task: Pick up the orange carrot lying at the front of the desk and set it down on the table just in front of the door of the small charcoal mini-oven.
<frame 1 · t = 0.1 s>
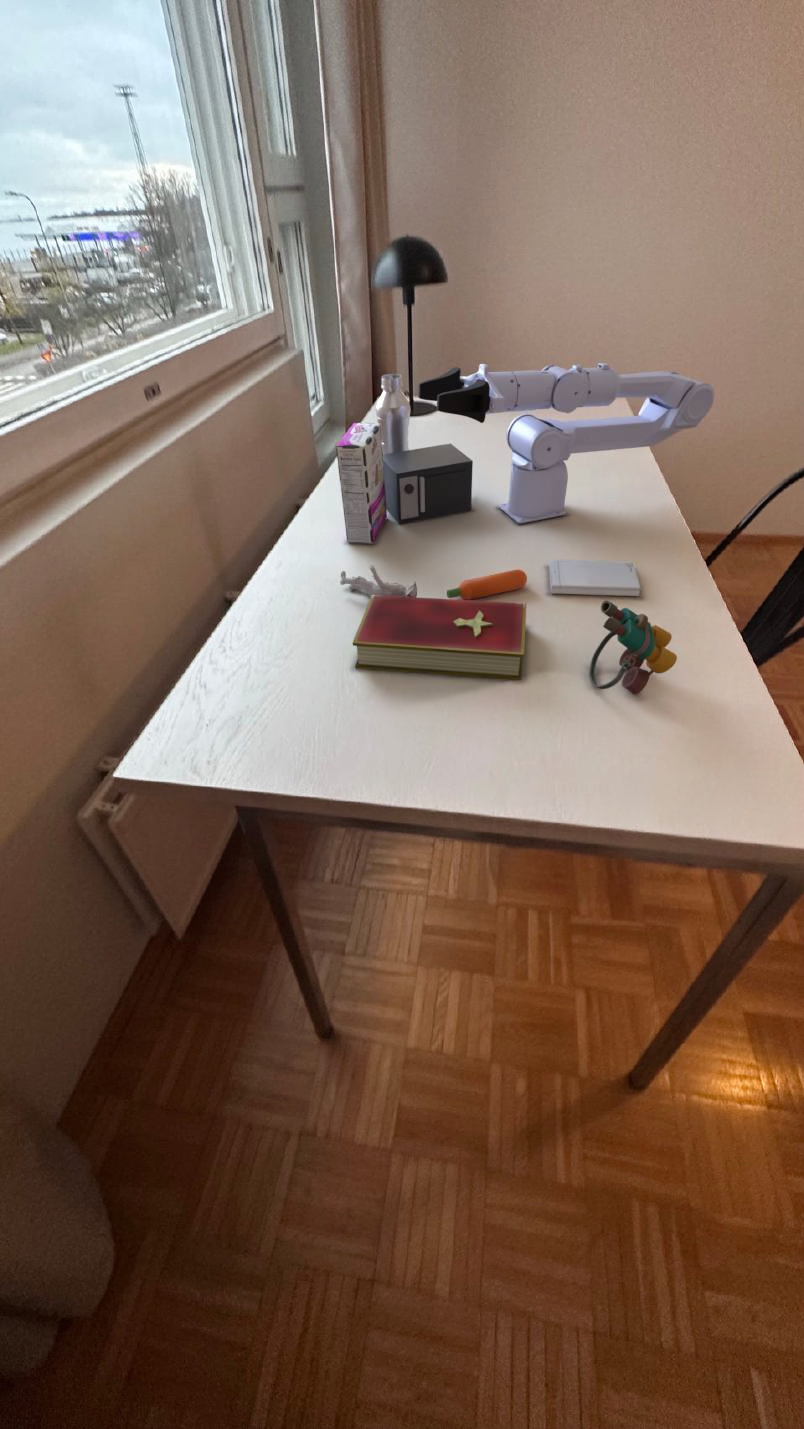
hand: (428, 396, 95), 22 cm above the table, tool horizontal, fingers open, 7 cm apart
hard drive: (591, 583, 95), on the table
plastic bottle: (396, 488, 125), on the table
mini oven: (425, 507, 118), on the table
candy bar box: (367, 531, 111), on the table
soldier figure: (379, 599, 94), on the table
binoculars: (625, 681, 77), on the table
hardcover book: (442, 648, 84), on the table
carrot: (492, 592, 94), on the table
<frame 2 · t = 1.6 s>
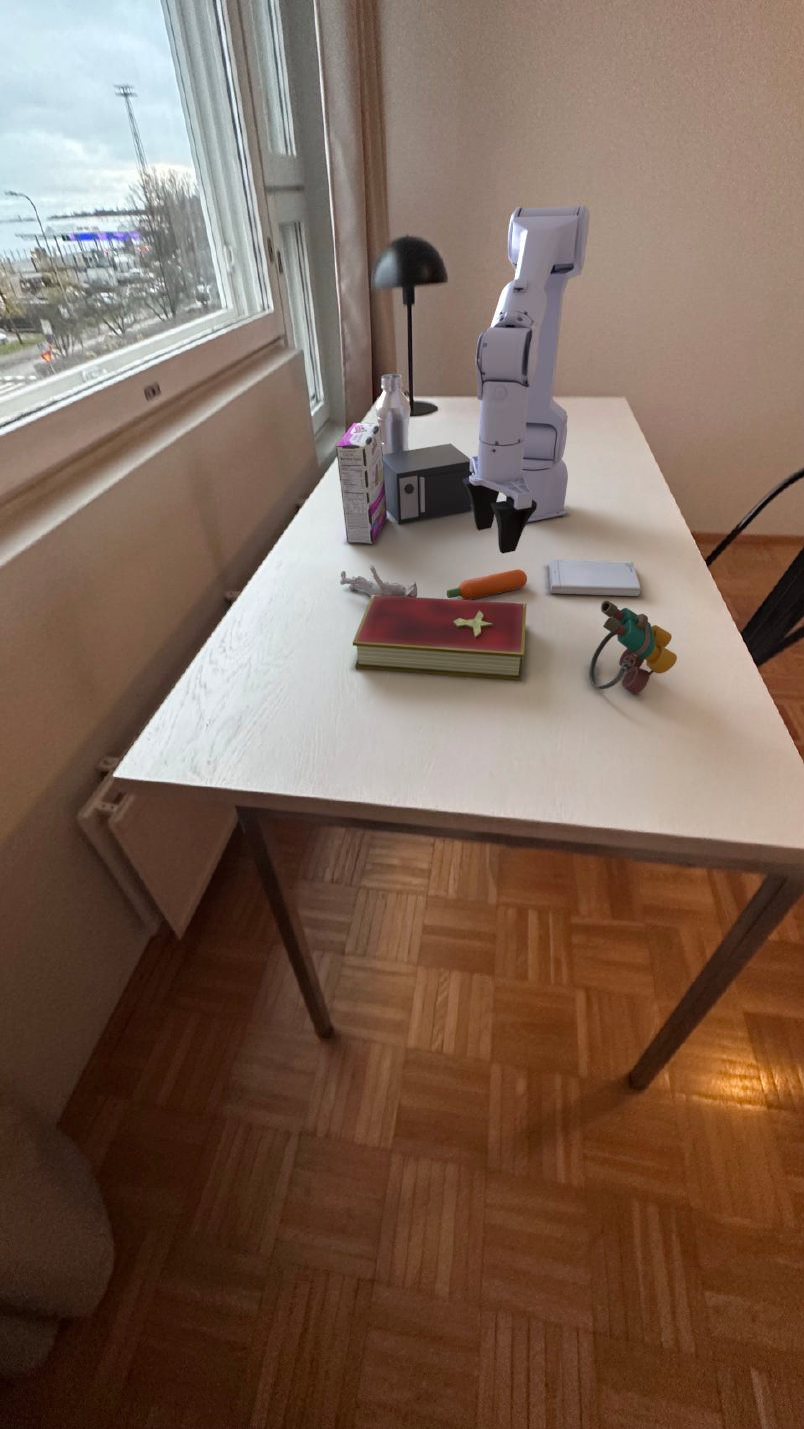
hand: (495, 539, 88), 8 cm above the table, tool pointing down, fingers open, 7 cm apart
nothing on the table moved.
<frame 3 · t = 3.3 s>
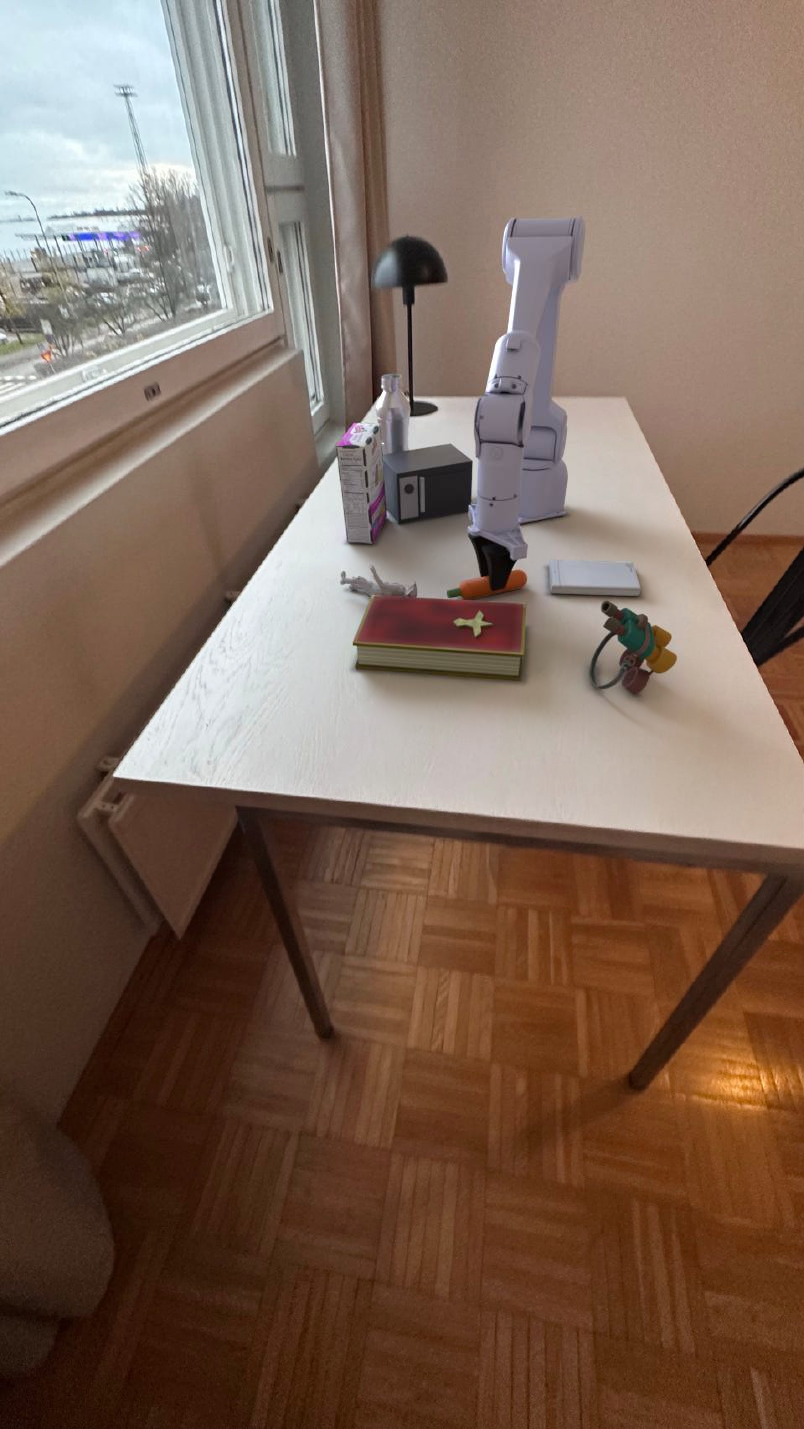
hand: (492, 583, 92), 2 cm above the table, tool pointing down, fingers closed on carrot, 3 cm apart
carrot: (492, 592, 93), on the table, touching gripper
everything else where it was.
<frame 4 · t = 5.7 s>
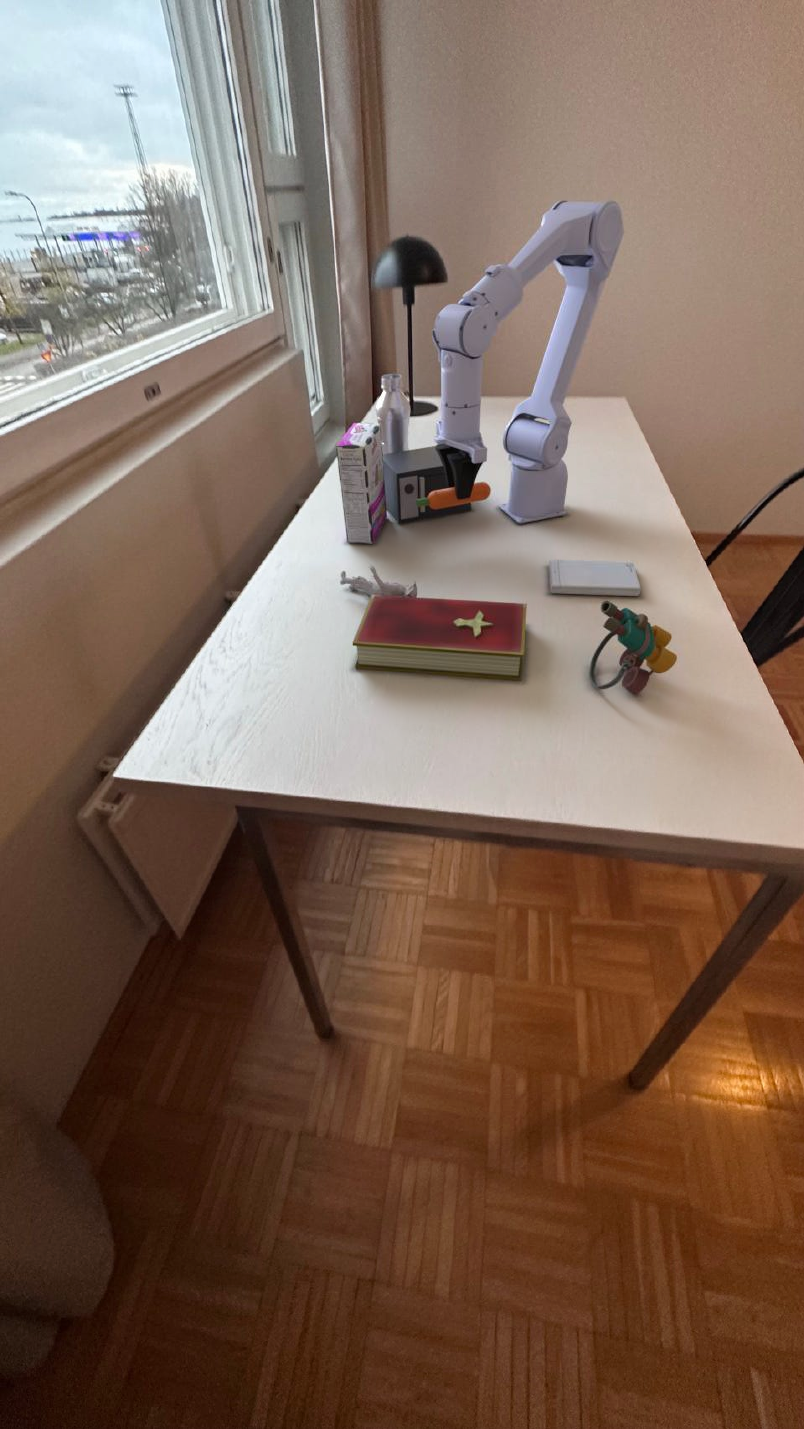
hand: (459, 494, 101), 8 cm above the table, tool pointing down, fingers closed on carrot, 3 cm apart
carrot: (458, 504, 102), point 7 cm above the table, touching gripper
everything else where it was.
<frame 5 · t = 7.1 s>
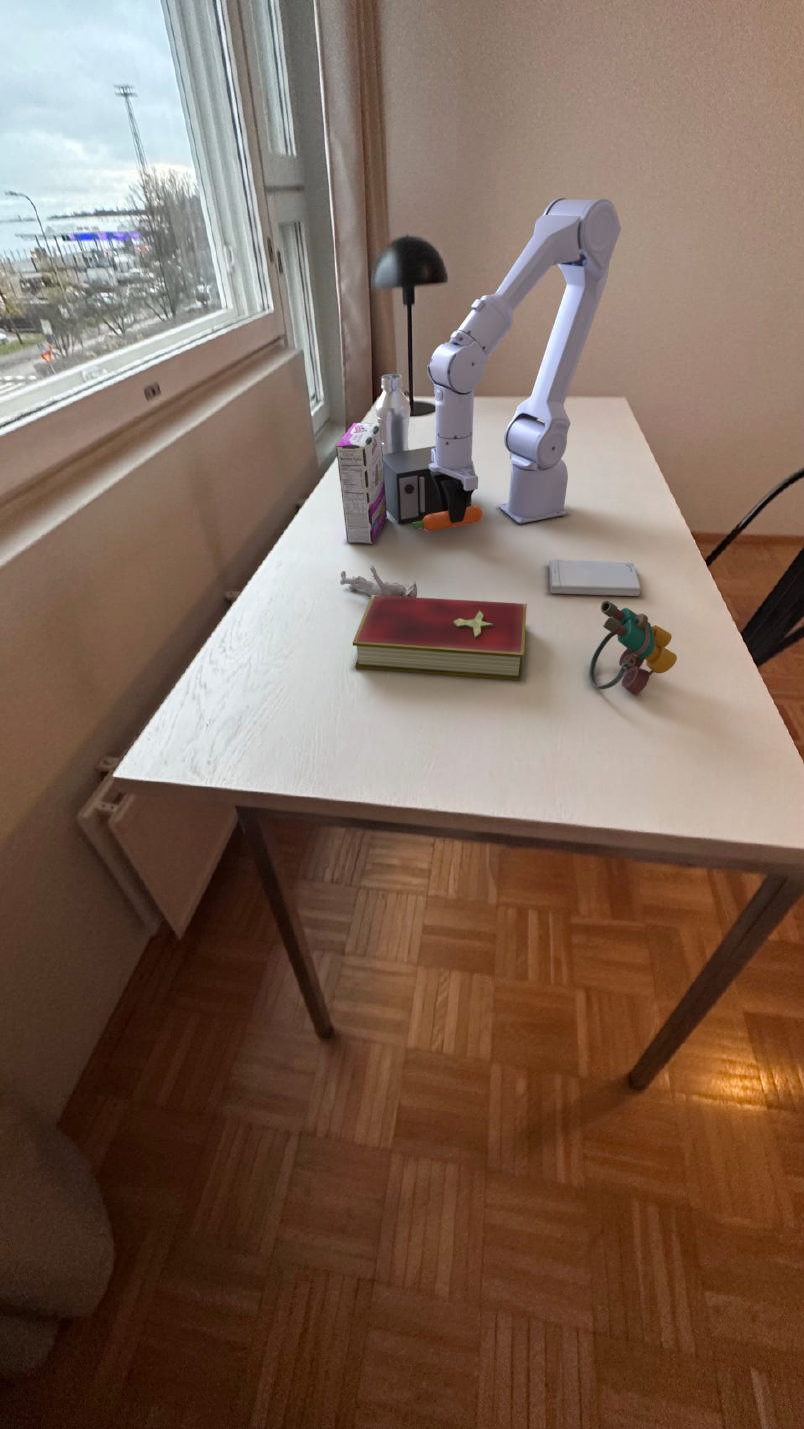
hand: (452, 517, 106), 3 cm above the table, tool pointing down, fingers closed on carrot, 3 cm apart
carrot: (452, 526, 107), point 2 cm above the table, touching gripper
everything else where it was.
when the fingers open (2 cm above the table, at t = 8.0 s): carrot stays where it is, on the table.
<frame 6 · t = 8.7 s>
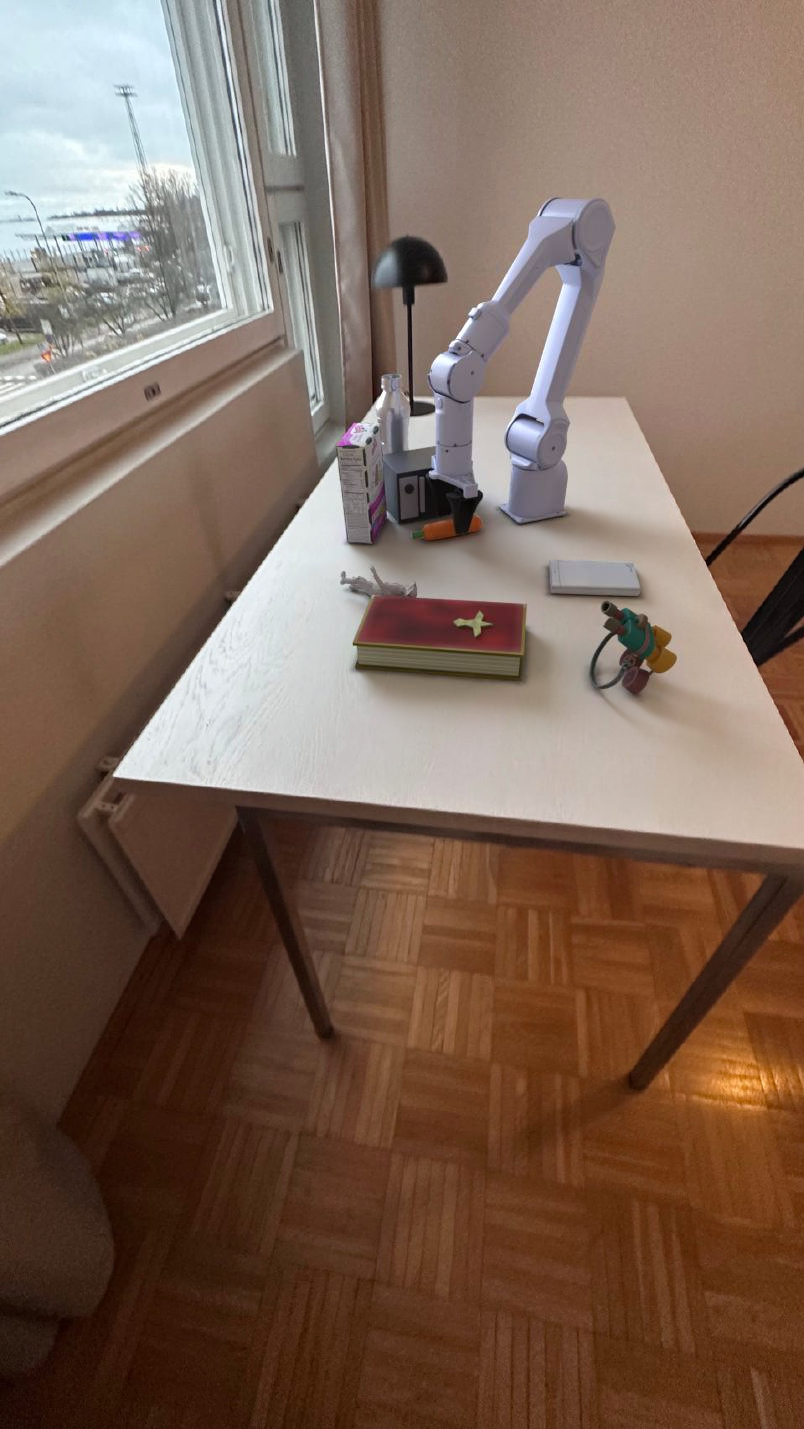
hand: (452, 524, 107), 2 cm above the table, tool pointing down, fingers open, 7 cm apart
carrot: (452, 535, 108), on the table
everything else where it was.
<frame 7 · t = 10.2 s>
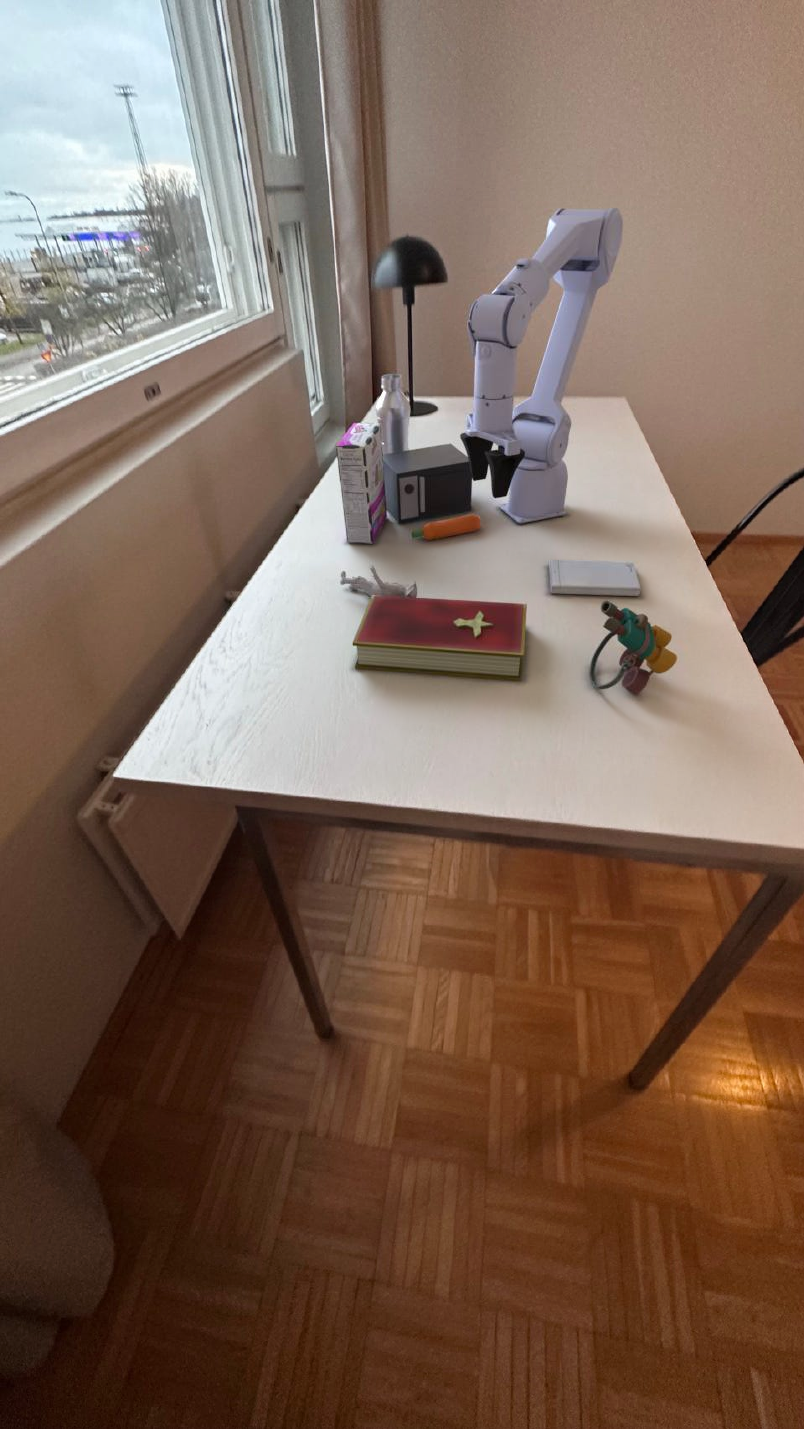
hand: (489, 487, 99), 9 cm above the table, tool pointing down, fingers open, 7 cm apart
carrot: (452, 535, 108), on the table, tilted 15°
everything else where it was.
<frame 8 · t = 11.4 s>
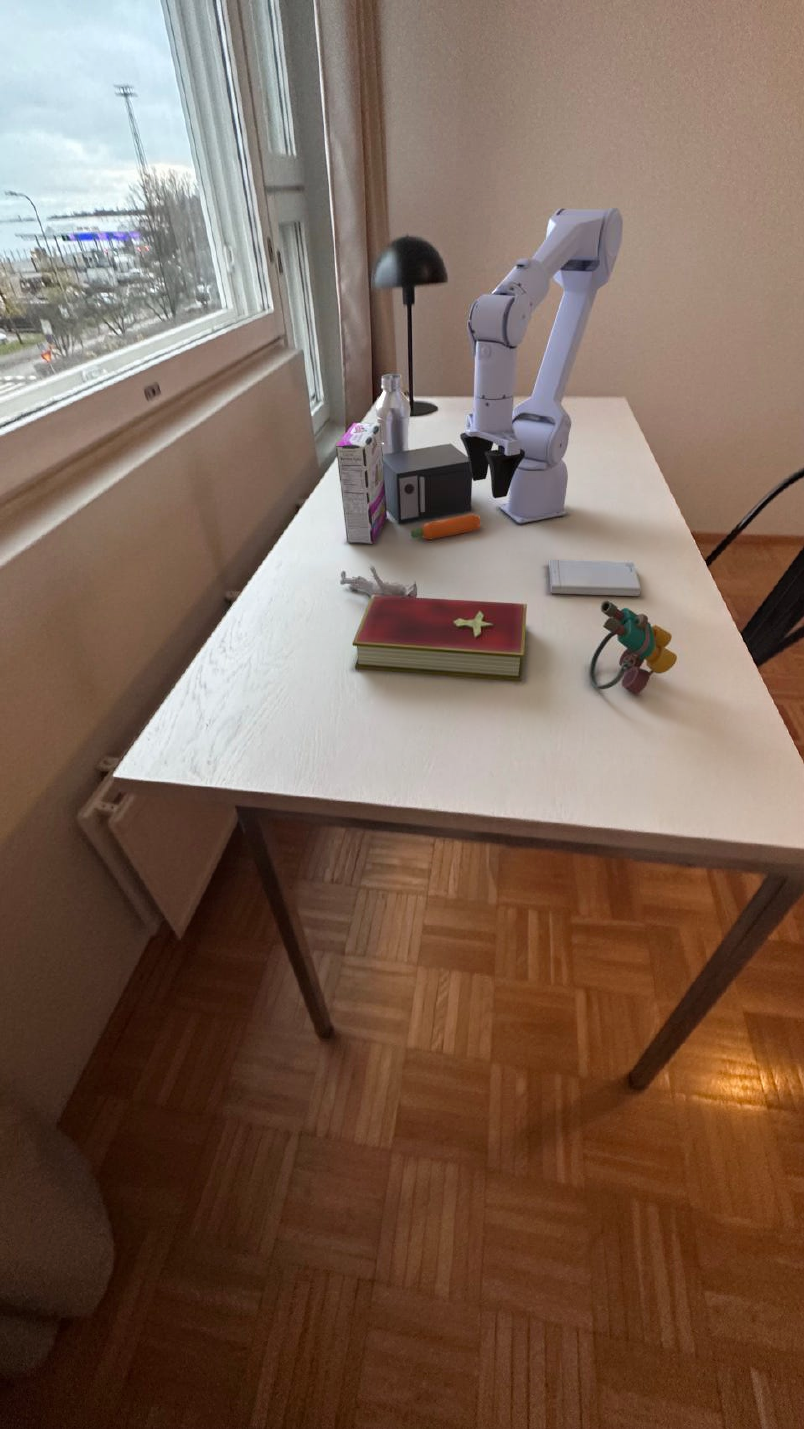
hand: (489, 487, 99), 9 cm above the table, tool pointing down, fingers open, 7 cm apart
carrot: (452, 534, 108), on the table, tilted 24°
everything else where it was.
at the end: carrot inside the target area on the table beside the mini oven (0.5 cm from its centre), on the table; the gripper is holding nothing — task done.
